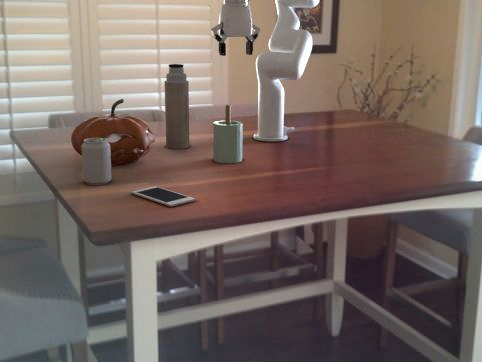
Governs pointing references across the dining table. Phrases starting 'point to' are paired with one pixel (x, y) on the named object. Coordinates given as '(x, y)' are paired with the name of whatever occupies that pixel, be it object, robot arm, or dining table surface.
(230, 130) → the sage green cup
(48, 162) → the dining table surface
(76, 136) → the pumpkin
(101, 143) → the can
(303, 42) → the robot arm
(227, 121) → the brush
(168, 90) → the thermos bottle
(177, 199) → the cell phone
